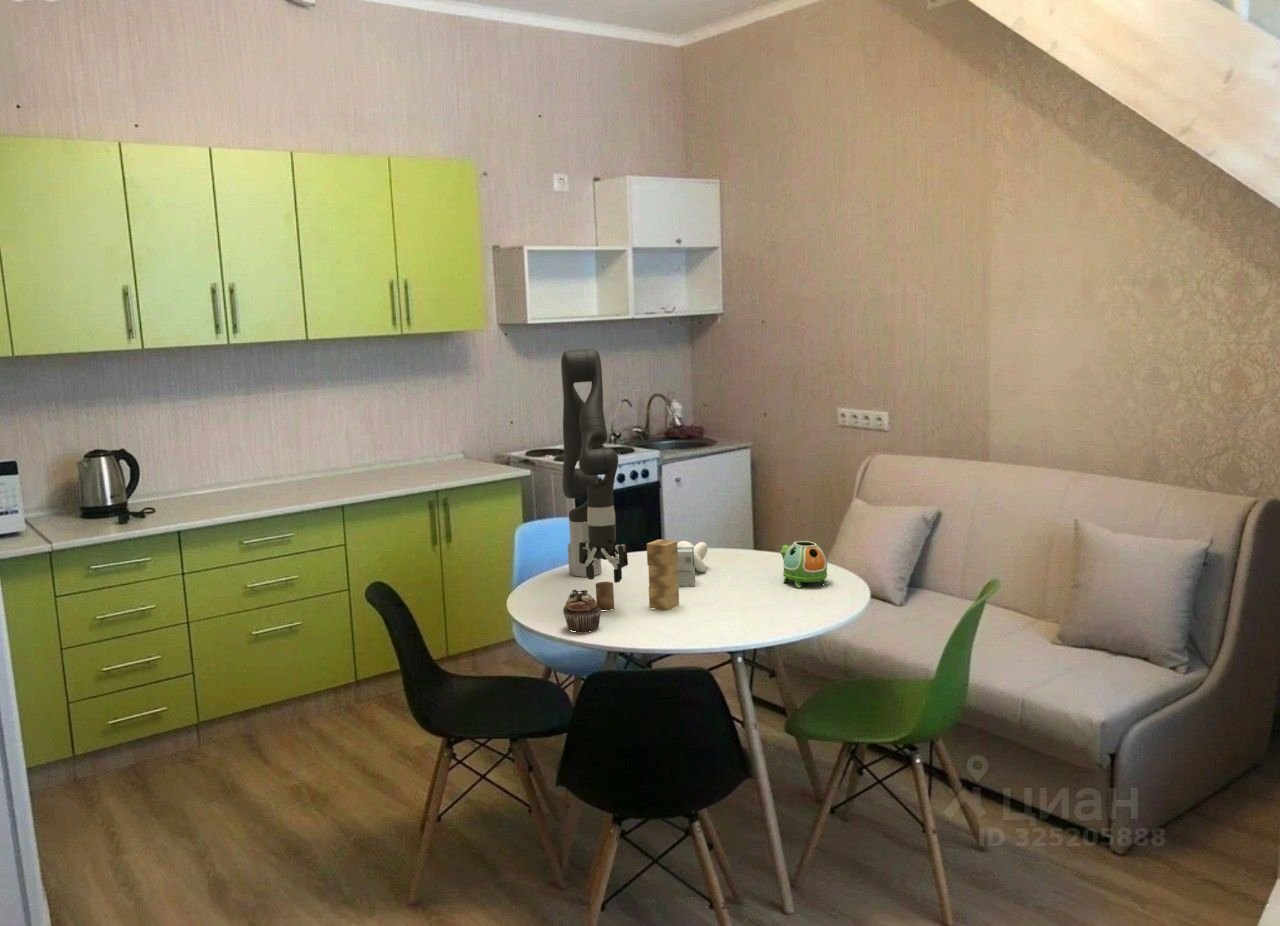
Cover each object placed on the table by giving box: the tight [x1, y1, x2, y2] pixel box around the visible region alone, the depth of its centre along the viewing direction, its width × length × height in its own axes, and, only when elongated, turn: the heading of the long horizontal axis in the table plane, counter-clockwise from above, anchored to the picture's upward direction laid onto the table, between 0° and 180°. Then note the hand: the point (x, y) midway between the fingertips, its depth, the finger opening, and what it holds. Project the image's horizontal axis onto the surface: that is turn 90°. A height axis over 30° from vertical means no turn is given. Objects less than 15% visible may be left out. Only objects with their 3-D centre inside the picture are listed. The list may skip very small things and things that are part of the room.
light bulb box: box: [677, 545, 696, 587], centre depth 303 cm, size 11×7×11 cm, turn 84°
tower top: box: [646, 538, 678, 568], centre depth 279 cm, size 6×6×6 cm
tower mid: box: [648, 564, 678, 589], centre depth 280 cm, size 6×6×6 cm
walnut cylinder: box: [595, 581, 615, 611], centre depth 281 cm, size 5×5×7 cm
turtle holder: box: [780, 540, 828, 589], centre depth 300 cm, size 12×18×12 cm
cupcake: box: [563, 589, 602, 633], centre depth 264 cm, size 10×10×10 cm
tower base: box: [648, 584, 680, 611], centre depth 280 cm, size 6×6×6 cm
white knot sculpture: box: [677, 540, 708, 573], centre depth 318 cm, size 11×12×9 cm
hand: (604, 580), depth 280 cm, fingers open, 8 cm apart
